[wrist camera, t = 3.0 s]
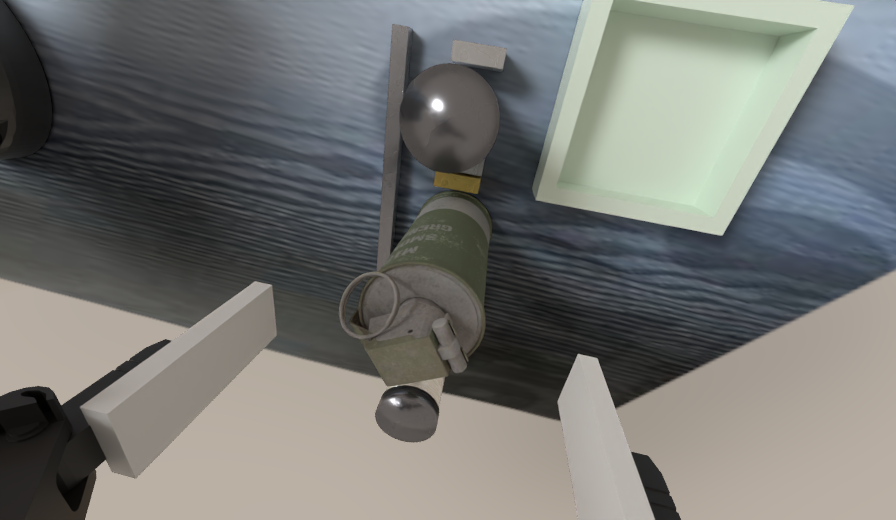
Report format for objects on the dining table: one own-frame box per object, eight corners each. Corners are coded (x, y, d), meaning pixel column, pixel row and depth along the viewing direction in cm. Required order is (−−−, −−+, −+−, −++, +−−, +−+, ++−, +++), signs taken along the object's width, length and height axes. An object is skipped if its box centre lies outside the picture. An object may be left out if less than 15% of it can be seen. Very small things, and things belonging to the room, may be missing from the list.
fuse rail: (375, 336, 32) (320, 441, 22) (397, 27, 21) (304, -37, 11) (450, 353, 32) (427, 467, 22) (514, 46, 20) (526, -3, 11)
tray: (531, 188, 24) (535, 200, 21) (586, -13, 19) (601, -32, 16) (696, 220, 23) (722, 235, 21) (802, 19, 18) (854, 5, 15)
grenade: (477, 178, 24) (447, 277, 11) (502, 250, 26) (502, 407, 13) (400, 206, 26) (293, 320, 13) (429, 271, 28) (364, 428, 15)
